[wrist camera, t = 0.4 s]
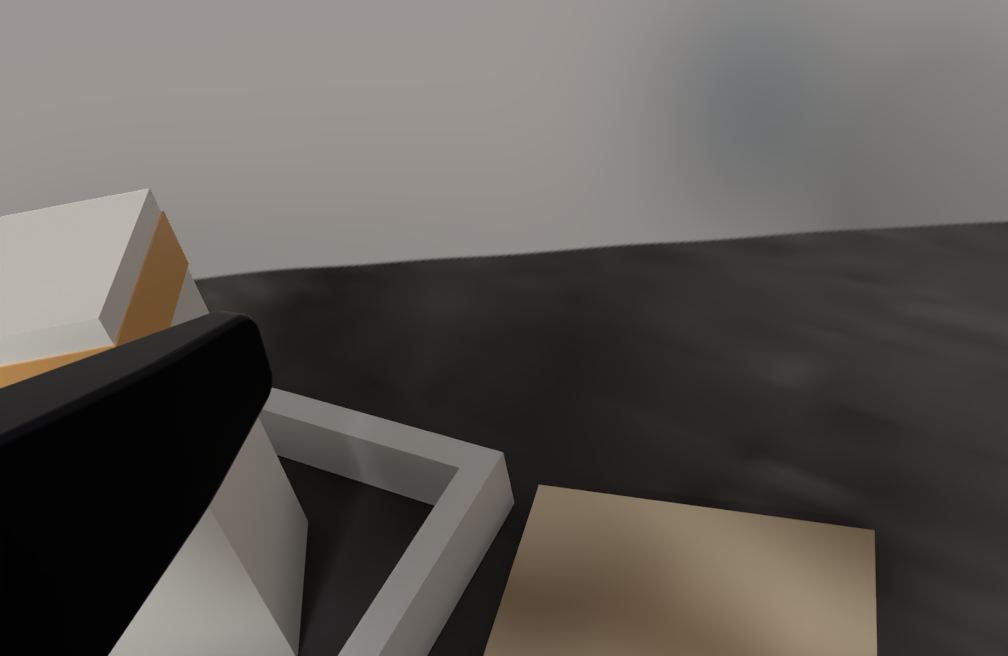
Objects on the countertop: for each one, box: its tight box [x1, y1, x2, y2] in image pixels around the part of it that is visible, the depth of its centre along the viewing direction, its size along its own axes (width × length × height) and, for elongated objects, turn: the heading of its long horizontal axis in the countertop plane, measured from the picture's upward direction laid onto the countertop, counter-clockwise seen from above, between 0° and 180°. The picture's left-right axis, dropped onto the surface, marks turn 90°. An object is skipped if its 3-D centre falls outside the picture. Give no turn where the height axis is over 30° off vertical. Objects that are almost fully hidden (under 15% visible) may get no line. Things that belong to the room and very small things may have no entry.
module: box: [0, 188, 308, 656], centre depth 23 cm, size 5×5×13 cm
